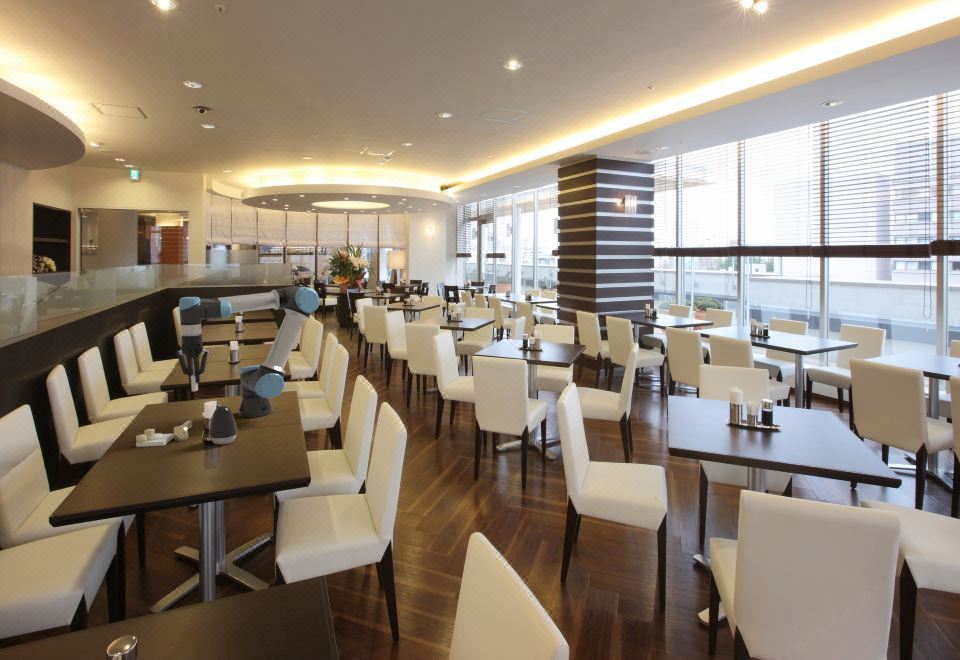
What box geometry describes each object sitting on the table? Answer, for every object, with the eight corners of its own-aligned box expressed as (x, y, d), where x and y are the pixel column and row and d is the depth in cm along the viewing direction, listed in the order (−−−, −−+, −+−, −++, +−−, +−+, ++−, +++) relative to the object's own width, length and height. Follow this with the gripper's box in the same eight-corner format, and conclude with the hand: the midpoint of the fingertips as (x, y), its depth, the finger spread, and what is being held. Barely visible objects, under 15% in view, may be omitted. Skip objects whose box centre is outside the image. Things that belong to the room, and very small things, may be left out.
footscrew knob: (185, 440, 218) (185, 428, 217) (172, 441, 217) (171, 429, 216) (196, 431, 229) (195, 419, 229) (184, 431, 229) (183, 420, 228)
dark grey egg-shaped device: (232, 436, 224) (229, 401, 222) (242, 442, 216) (239, 405, 214) (206, 442, 217) (203, 405, 215) (215, 449, 209) (212, 411, 207)
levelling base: (177, 435, 226) (177, 425, 225) (163, 446, 212) (162, 436, 211) (151, 436, 224) (150, 426, 224) (135, 448, 210) (134, 437, 210)
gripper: (211, 333, 227) (214, 388, 230) (178, 333, 225) (181, 388, 228) (205, 335, 220) (208, 392, 223) (170, 336, 218) (174, 393, 221)
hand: (195, 390), depth 225 cm, fingers closed
